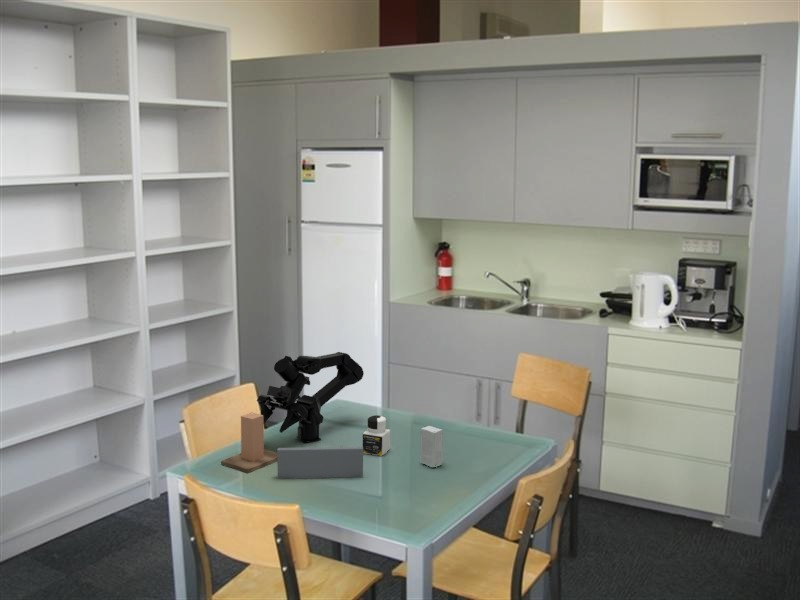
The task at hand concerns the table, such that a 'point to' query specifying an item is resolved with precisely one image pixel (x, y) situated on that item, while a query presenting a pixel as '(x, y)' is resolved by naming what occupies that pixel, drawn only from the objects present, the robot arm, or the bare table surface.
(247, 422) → the terracotta block
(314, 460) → the slate screen
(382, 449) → the medicine bottle
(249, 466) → the walnut board
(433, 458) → the skincare box
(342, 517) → the table surface
